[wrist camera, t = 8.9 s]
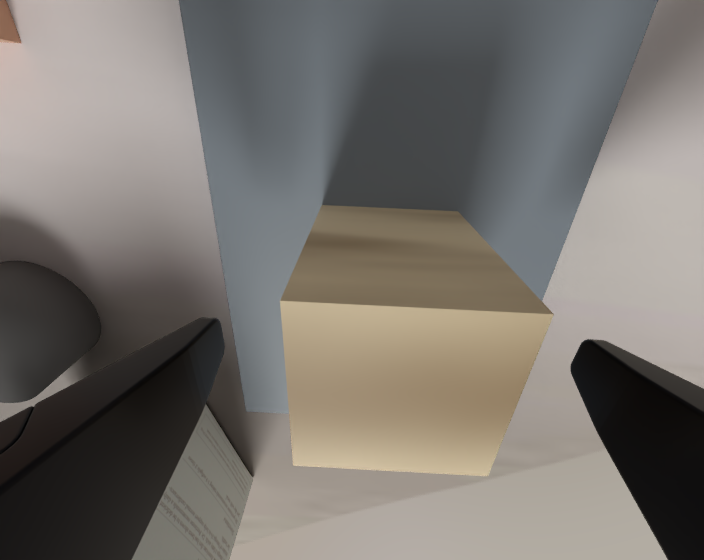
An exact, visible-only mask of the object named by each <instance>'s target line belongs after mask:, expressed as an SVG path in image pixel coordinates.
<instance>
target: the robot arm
mask: <svg viewBox="0 0 704 560" xmlns="http://www.w3.org/2000/svg"><path fill="white" fill-rule="evenodd" d="M224 348H225V346H224V339H223V334H222V328H221V323H220V321H219V320H218V319H217V318H205V317H203V318H199V319H197V320H195V321H193V322H192V323H190V324H188V325H186V326H184V327H182V328H180V329H178V330H176V331H174V332H172V333H170V334H169V335H167V336H165V337H163V338H161V339H159V340H157V341H155V342H153V343H151V344H149V345H147V346H146V347H144V348H142V349H140V350H138V351H136V352H134V353H132V354H130V355H128V356H126V357H124V358H123V359H121V360H119V361H117V362H115V363H113V364H111V365H109V366H107V367H105V368H103V369H101V370H100V371H98V372H96V373H94V374H92V375H90V376H88V377H86V378H84V379H82V380H80V381H78V382H77V383H75V384H73V385H71V386H69V387H67V388H65V389H63V390H61V391H59V392H57V393H55V394H54V395H52V396H50V397H48V398H46V399H44V400H42V401H40V402H38V403H37V404H36V405H35V406H34V407H32V406H31V407H28V408H27V409H25V410H23V411H21V412H19V413H17V414H15V415H13V416H11V417H9V418H8V419H6V420H4V421H2V422H0V560H132V558H133V556H134V554H135V552H136V550H137V548H138V546H139V544H140V542H141V539H142V537H143V535H144V533H145V531H146V529H147V527H148V525H149V523H150V521H151V519H152V517H153V514H154V512H155V510H156V508H157V506H158V504H159V502H160V500H161V498H162V496H163V494H164V492H165V490H166V487H167V485H168V483H169V481H170V479H171V477H172V475H173V473H174V471H175V469H176V467H177V465H178V462H179V460H180V458H181V456H182V454H183V452H184V450H185V448H186V446H187V444H188V442H189V440H190V437H191V435H192V433H193V431H194V429H195V427H196V425H197V423H198V421H199V419H200V417H201V414H202V412H203V410H204V407H205V405H206V402H207V399H208V397H209V394H210V391H211V388H212V385H213V382H214V380H215V377H216V374H217V371H218V368H219V365H220V362H221V360H222V357H223V354H224ZM571 374H572V377H573V379H574V381H575V383H576V386H577V388H578V390H579V392H580V395H581V397H582V399H583V402H584V404H585V406H586V408H587V411H588V413H589V415H590V417H591V420H592V422H593V424H594V426H595V428H596V431H597V433H598V435H599V437H600V438H601V440H602V442H603V444H604V446H605V448H606V449H607V451H608V453H609V455H610V457H611V458H612V460H613V462H614V463H615V466H616V467H617V469H618V471H619V473H620V475H621V476H622V478H623V480H624V482H625V483H626V485H627V487H628V489H629V491H630V492H631V494H632V496H633V498H634V500H635V501H636V503H637V505H638V507H639V509H640V510H641V512H642V514H643V516H644V518H645V519H646V521H647V523H648V525H649V526H650V528H651V530H652V532H653V534H654V535H655V537H656V539H657V541H658V543H659V545H660V546H661V548H662V550H663V552H664V553H665V555H666V557H667V559H668V560H704V389H703V388H701V387H699V386H697V385H695V384H693V383H691V382H689V381H687V380H685V379H682V378H680V377H678V376H676V375H674V374H672V373H670V372H668V371H666V370H664V369H662V368H660V367H658V366H656V365H654V364H652V363H650V362H648V361H646V360H644V359H642V358H640V357H637V356H635V355H633V354H631V353H629V352H627V351H625V350H623V349H621V348H619V347H617V346H615V345H613V344H611V343H609V342H607V341H604V340H591V339H587V340H585V341H583V342H582V343H581V345H580V347H579V349H578V351H577V353H576V355H575V357H574V359H573V361H572V363H571Z"/></svg>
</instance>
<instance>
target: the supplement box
mask: <svg viewBox="0 0 704 560" xmlns="http://www.w3.org/2000/svg"><path fill="white" fill-rule="evenodd" d="M252 482H253V478H252V476H251V475H250V473H249V472H248V470H247V469H246V467H245V466H244V464H243V462H242V461H241V459H240V458H239V456H238V454H237V453H236V451H235V450H234V448H233V447H232V445H231V443H230V442H229V440H228V439H227V437H226V436H225V434H224V432H223V431H222V429H221V427H220V426H219V424H218V423H217V421H216V419H215V418H214V416H213V415H212V413H211V412H210V410H209V408H208V407H207V405H205V407H204V410H203V412H202V414H201V417H200V419H199V421H198V423H197V425H196V427H195V429H194V431H193V433H192V435H191V437H190V440H189V442H188V444H187V446H186V448H185V450H184V452H183V454H182V456H181V458H180V460H179V462H178V465H177V467H176V469H175V471H174V473H173V475H172V477H171V479H170V481H169V483H168V485H167V487H166V490H165V492H164V494H163V496H162V498H161V500H160V502H159V504H158V506H157V508H156V510H155V512H154V514H153V517H152V519H151V521H150V523H149V525H148V527H147V529H146V531H145V533H144V535H143V537H142V539H141V542H140V544H139V546H138V548H137V550H136V552H135V554H134V556H133V558H132V560H229V559H230V555H231V551H232V548H233V545H234V542H235V538H236V535H237V532H238V529H239V526H240V522H241V519H242V515H243V512H244V508H245V505H246V502H247V498H248V495H249V491H250V488H251V485H252Z"/></svg>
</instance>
